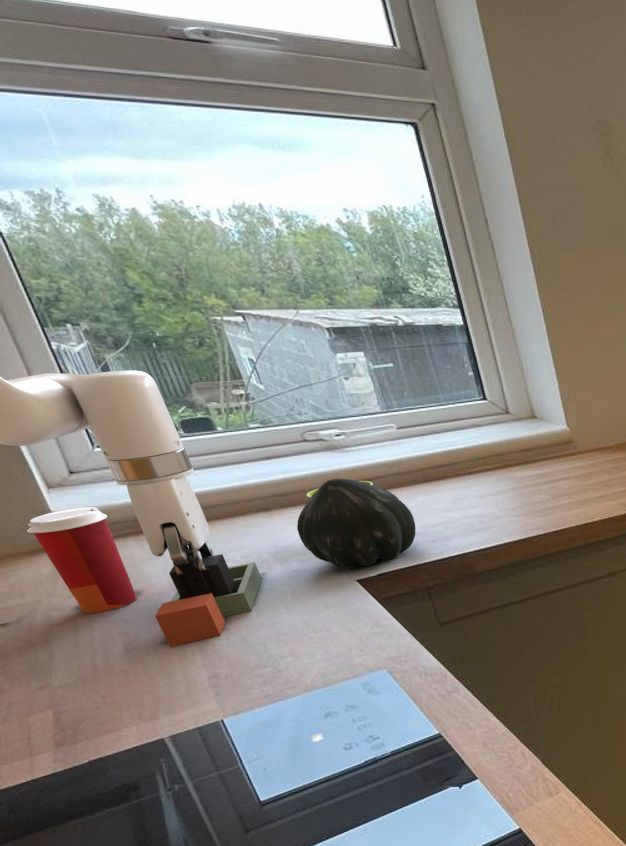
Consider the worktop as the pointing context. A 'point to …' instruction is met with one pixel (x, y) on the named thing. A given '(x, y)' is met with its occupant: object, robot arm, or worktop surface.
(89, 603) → the paper cup
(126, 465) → the robot arm
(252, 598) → the green tray
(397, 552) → the squash
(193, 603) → the pad terracotta
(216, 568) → the pad charcoal
